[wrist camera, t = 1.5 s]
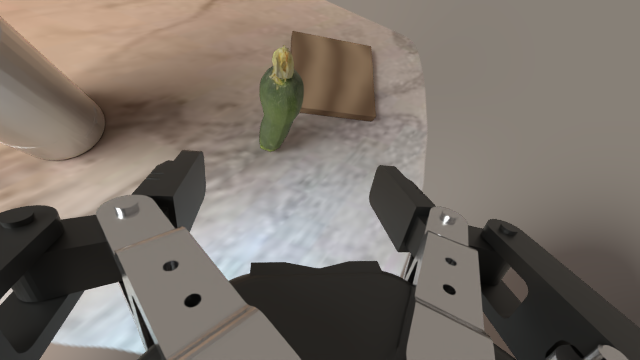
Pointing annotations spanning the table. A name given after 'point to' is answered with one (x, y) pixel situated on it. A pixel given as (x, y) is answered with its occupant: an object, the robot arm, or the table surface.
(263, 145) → the vegetable
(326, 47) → the cutting board
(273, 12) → the table surface
